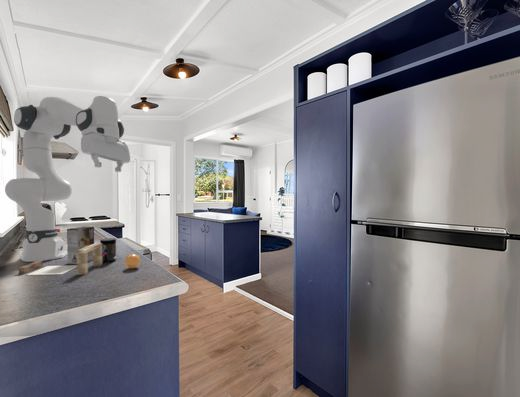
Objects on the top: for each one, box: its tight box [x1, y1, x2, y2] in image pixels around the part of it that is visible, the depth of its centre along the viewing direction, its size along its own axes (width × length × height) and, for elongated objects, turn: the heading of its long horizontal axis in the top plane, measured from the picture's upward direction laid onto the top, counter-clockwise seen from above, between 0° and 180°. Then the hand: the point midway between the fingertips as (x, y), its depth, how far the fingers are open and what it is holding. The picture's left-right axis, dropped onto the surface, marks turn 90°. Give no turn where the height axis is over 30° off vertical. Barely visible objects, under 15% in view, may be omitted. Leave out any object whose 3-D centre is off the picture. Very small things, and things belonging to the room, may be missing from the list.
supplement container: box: [99, 237, 117, 264], centre depth 130 cm, size 7×7×10 cm
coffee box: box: [66, 226, 95, 265], centre depth 128 cm, size 9×6×16 cm
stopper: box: [18, 261, 44, 275], centre depth 114 cm, size 11×2×2 cm, turn 7°
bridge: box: [76, 242, 103, 276], centre depth 116 cm, size 3×15×10 cm, turn 7°
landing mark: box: [26, 264, 77, 276], centre depth 114 cm, size 13×13×1 cm
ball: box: [124, 253, 141, 269], centre depth 118 cm, size 6×6×6 cm
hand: (108, 169), depth 107 cm, fingers open, 8 cm apart
